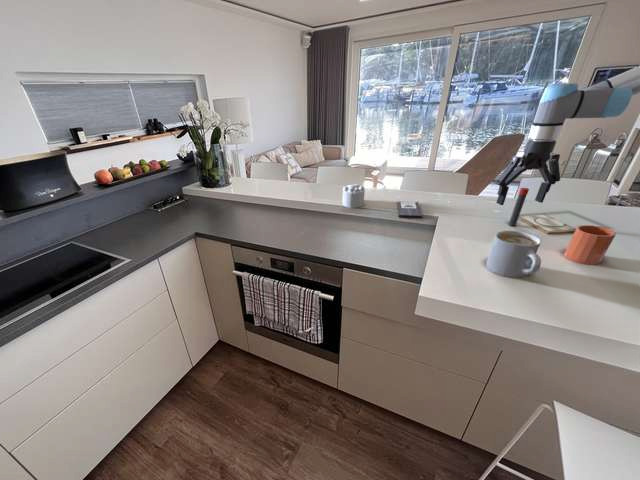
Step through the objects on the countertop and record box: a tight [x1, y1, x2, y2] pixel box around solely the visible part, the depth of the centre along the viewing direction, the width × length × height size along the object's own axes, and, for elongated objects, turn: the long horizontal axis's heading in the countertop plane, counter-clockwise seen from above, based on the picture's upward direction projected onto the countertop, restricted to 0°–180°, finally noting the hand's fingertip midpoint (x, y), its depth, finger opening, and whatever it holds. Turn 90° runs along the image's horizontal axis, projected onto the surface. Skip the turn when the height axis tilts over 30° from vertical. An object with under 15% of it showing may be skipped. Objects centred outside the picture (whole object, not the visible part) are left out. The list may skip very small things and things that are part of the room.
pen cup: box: [563, 224, 617, 266], centre depth 83 cm, size 8×8×9 cm
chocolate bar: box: [396, 201, 423, 219], centre depth 129 cm, size 9×1×18 cm
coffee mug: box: [485, 230, 542, 279], centre depth 80 cm, size 13×10×10 cm
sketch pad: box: [518, 213, 577, 235], centre depth 106 cm, size 20×16×1 cm
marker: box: [508, 187, 530, 227], centre depth 105 cm, size 2×2×14 cm
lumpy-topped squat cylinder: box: [342, 183, 366, 209], centre depth 142 cm, size 10×13×9 cm
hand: (519, 202), depth 104 cm, fingers open, 13 cm apart
